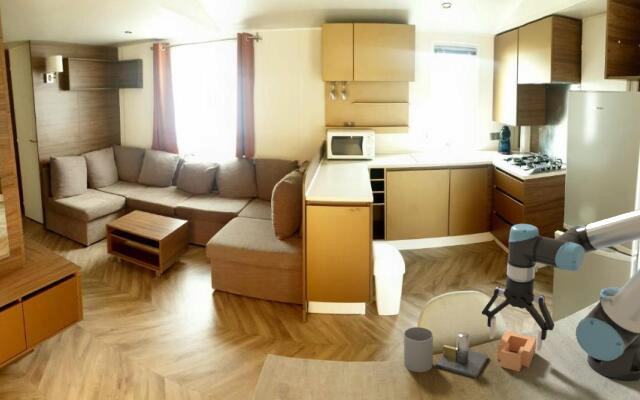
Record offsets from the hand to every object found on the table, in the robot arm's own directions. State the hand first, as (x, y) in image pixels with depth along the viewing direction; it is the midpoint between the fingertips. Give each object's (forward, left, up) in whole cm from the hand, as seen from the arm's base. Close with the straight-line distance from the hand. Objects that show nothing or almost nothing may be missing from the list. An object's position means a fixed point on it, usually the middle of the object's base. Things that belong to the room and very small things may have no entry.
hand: (515, 342), depth 161 cm
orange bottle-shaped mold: (-1, +2, -4) cm, 5 cm away
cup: (+23, +18, -5) cm, 30 cm away
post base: (+12, +11, -4) cm, 17 cm away
